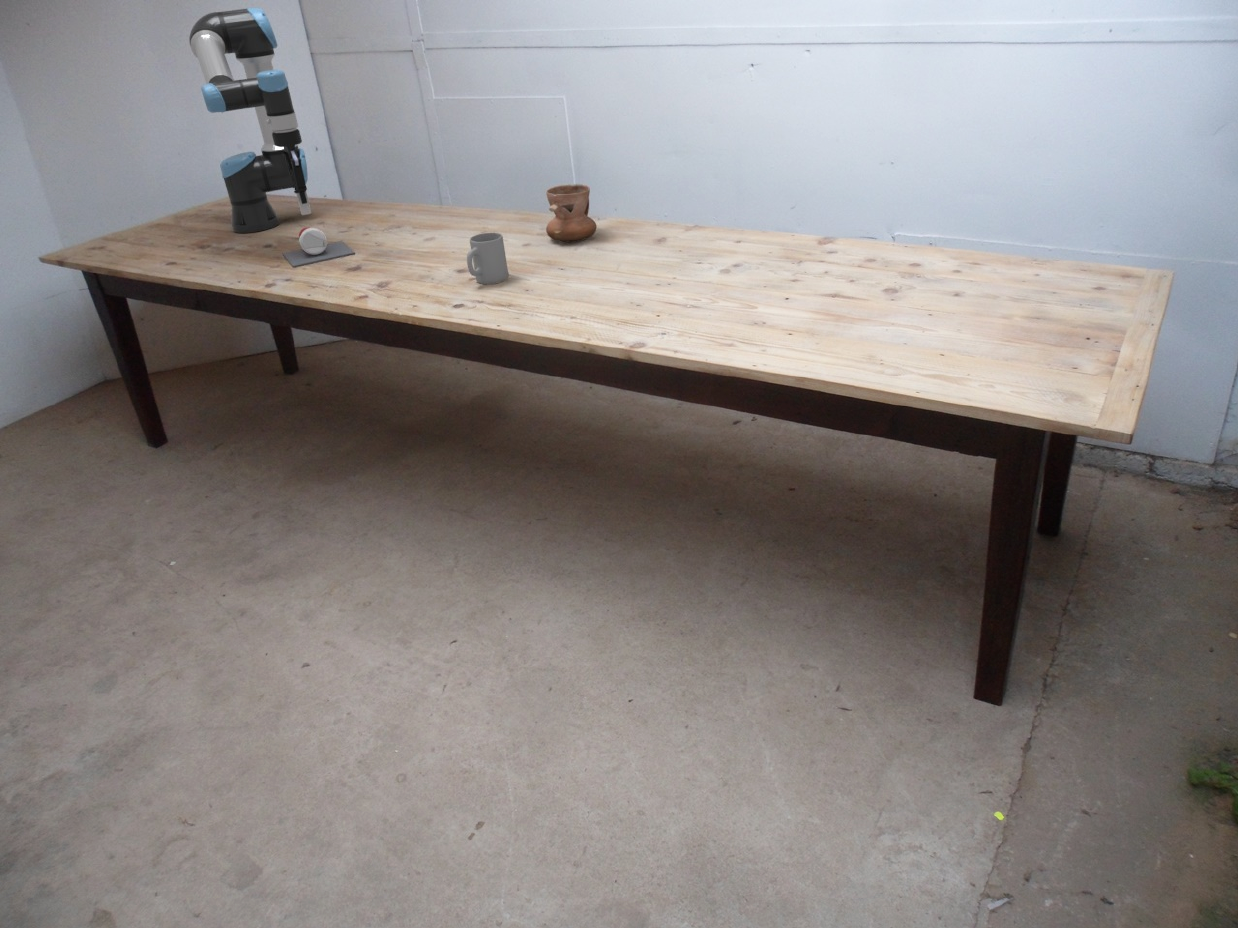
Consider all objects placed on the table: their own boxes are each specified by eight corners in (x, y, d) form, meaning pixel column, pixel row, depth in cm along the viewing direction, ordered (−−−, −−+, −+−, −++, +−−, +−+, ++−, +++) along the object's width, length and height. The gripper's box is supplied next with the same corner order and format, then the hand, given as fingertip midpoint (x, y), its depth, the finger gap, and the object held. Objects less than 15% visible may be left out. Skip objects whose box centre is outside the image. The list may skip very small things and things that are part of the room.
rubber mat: (283, 255, 274) (282, 253, 273) (342, 242, 280) (342, 240, 280) (293, 267, 261) (293, 266, 261) (355, 254, 268) (354, 252, 268)
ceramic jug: (575, 249, 253) (571, 197, 246) (534, 244, 260) (529, 194, 253) (611, 232, 266) (607, 183, 259) (571, 228, 273) (566, 179, 266)
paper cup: (322, 226, 278) (329, 231, 266) (320, 251, 280) (326, 257, 268) (296, 221, 275) (301, 226, 263) (293, 247, 277) (298, 252, 265)
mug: (490, 272, 242) (484, 231, 236) (515, 275, 237) (509, 234, 232) (460, 286, 234) (452, 244, 228) (485, 290, 229) (478, 247, 224)
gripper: (267, 129, 260) (289, 212, 271) (275, 135, 249) (298, 221, 261) (294, 125, 262) (314, 207, 274) (303, 130, 252) (324, 215, 264)
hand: (306, 214), depth 268 cm, fingers closed
